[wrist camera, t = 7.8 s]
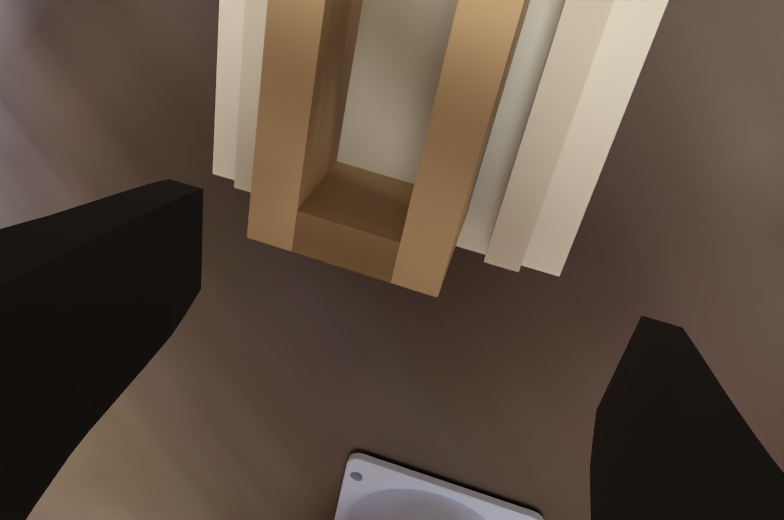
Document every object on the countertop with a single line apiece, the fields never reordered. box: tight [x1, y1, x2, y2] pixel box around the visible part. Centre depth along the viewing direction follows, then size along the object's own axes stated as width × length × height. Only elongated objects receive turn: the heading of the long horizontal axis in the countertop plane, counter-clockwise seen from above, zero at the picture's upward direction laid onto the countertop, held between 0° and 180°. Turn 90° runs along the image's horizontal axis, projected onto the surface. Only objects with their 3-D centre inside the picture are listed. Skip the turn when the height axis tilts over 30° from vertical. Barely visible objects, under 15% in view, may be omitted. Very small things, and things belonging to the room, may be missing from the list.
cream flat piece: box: [213, 0, 669, 277], centre depth 18 cm, size 12×11×2 cm
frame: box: [247, 0, 530, 298], centre depth 16 cm, size 9×5×4 cm, turn 169°
